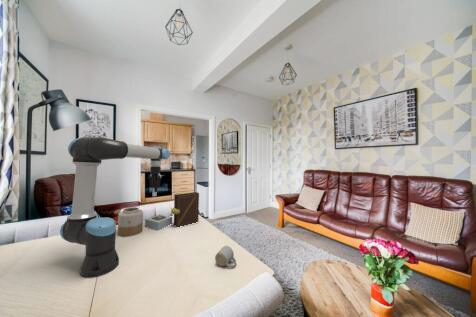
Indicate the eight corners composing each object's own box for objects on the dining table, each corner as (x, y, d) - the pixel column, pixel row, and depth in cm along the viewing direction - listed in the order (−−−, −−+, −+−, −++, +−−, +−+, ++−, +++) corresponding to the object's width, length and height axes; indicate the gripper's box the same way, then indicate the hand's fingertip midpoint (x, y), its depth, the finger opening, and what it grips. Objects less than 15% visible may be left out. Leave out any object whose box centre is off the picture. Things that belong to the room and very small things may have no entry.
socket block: (172, 224, 145) (172, 216, 145) (158, 230, 133) (158, 221, 133) (159, 221, 151) (159, 213, 151) (145, 227, 139) (145, 218, 139)
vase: (121, 228, 134) (122, 206, 134) (144, 227, 139) (144, 205, 138) (114, 237, 119) (115, 213, 119) (139, 235, 124) (140, 211, 124)
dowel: (163, 224, 143) (163, 216, 143) (158, 226, 139) (158, 217, 139) (159, 223, 145) (159, 215, 145) (154, 225, 141) (154, 217, 141)
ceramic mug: (213, 265, 93) (214, 250, 93) (221, 257, 100) (222, 243, 100) (231, 271, 88) (232, 256, 88) (238, 263, 96) (239, 248, 96)
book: (195, 220, 157) (195, 191, 156) (199, 223, 150) (200, 193, 150) (169, 225, 142) (170, 194, 142) (173, 229, 136) (174, 196, 136)
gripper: (165, 166, 142) (164, 196, 141) (154, 165, 147) (152, 194, 147) (157, 166, 135) (156, 197, 135) (145, 165, 141) (144, 195, 140)
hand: (154, 195), depth 141 cm, fingers closed
